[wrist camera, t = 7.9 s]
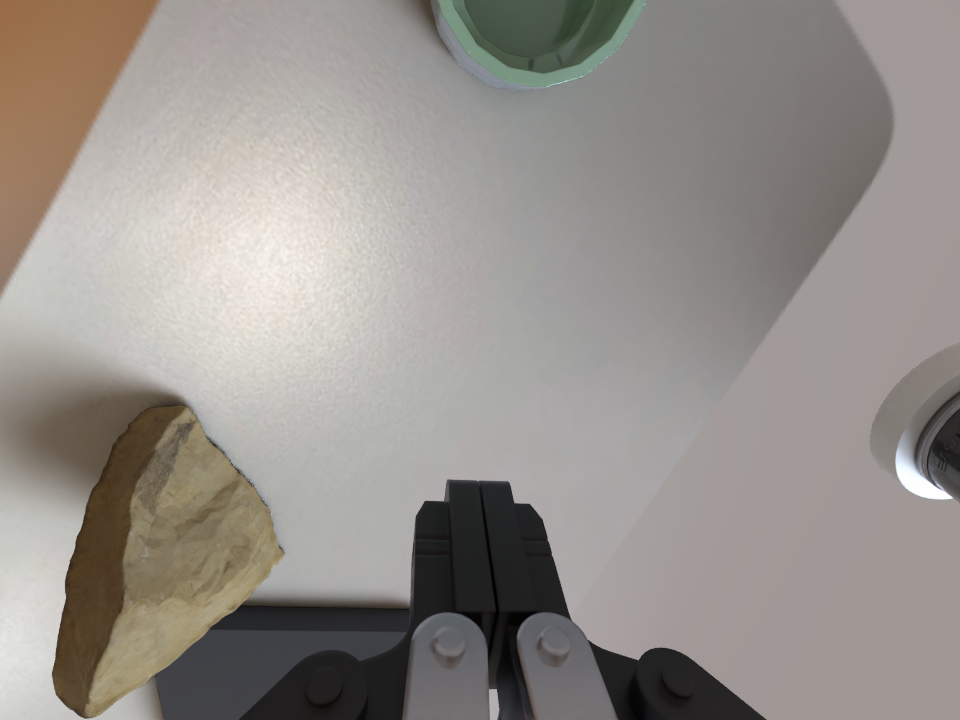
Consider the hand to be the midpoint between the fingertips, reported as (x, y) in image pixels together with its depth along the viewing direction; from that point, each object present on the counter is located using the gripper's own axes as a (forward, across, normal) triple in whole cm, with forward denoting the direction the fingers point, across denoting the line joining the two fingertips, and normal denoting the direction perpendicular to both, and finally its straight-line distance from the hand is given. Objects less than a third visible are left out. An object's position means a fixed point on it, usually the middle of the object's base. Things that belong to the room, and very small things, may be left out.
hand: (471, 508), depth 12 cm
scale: (+13, +8, +27) cm, 31 cm away
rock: (+13, +11, +11) cm, 21 cm away
